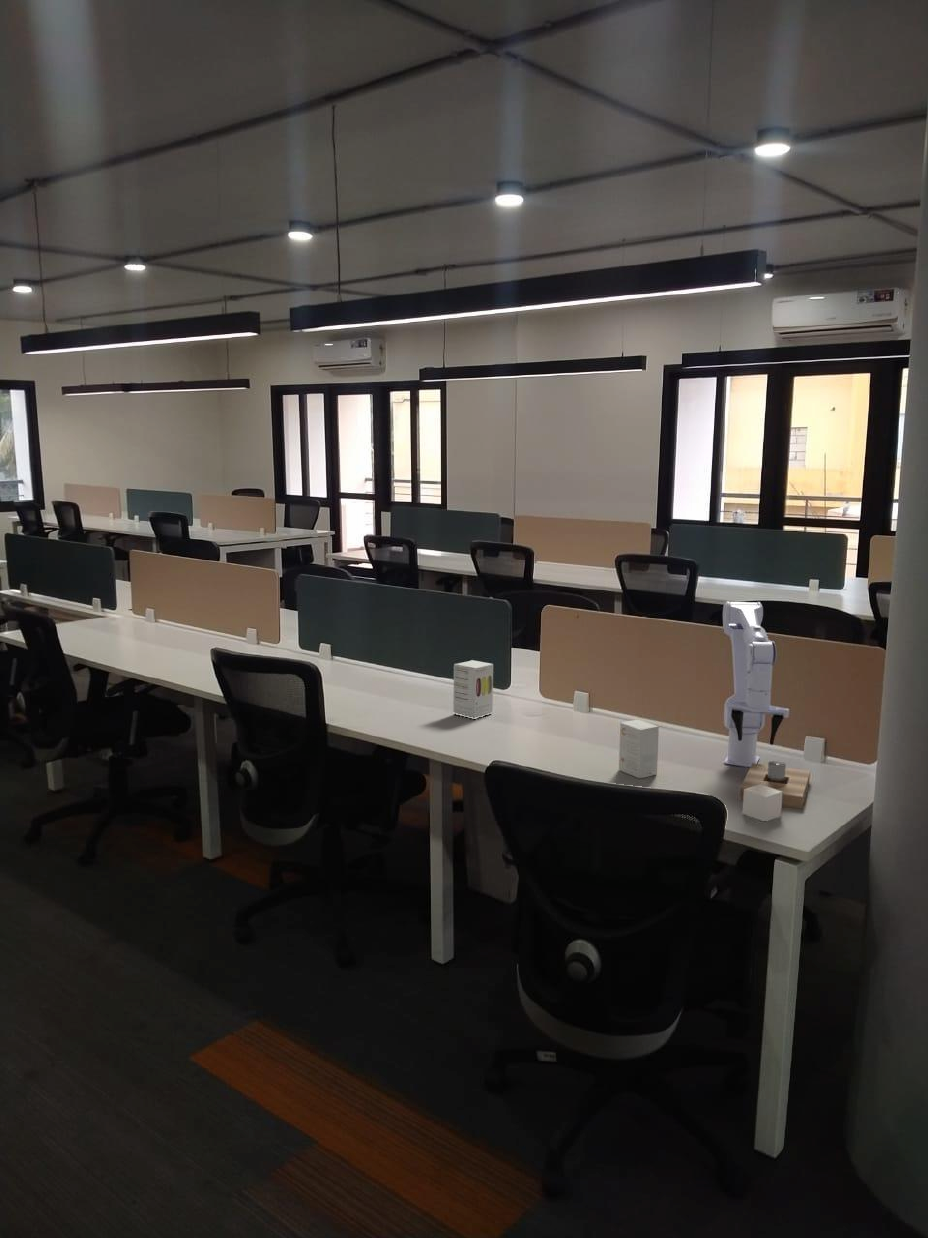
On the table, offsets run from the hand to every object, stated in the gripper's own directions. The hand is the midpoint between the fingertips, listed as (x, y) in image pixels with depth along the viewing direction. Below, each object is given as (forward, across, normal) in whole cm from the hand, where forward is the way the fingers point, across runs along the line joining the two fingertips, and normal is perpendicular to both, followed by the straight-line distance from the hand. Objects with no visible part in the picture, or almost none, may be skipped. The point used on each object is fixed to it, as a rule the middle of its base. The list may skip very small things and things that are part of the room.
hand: (755, 741), depth 224 cm
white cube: (+11, +5, -23) cm, 26 cm away
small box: (+11, -28, -7) cm, 31 cm away
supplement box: (+10, -90, +24) cm, 94 cm away
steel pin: (+10, +6, -5) cm, 13 cm away
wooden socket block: (+10, +6, -5) cm, 13 cm away
